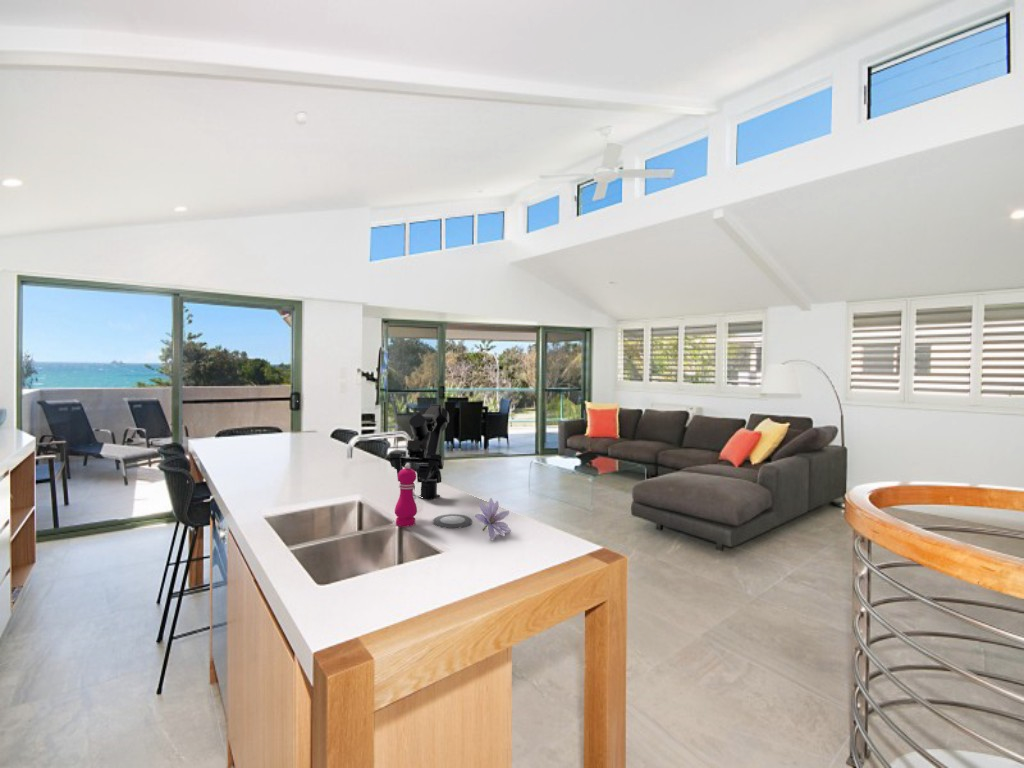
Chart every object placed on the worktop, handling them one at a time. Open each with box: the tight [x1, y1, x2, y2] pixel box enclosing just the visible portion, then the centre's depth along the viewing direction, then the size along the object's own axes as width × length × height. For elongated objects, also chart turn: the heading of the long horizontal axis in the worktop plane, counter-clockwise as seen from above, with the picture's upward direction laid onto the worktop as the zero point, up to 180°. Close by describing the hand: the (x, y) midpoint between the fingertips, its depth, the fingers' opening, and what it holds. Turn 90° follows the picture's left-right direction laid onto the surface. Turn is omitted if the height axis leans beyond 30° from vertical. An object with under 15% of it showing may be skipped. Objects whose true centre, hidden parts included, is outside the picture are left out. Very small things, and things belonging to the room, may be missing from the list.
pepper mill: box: [394, 463, 418, 528], centre depth 165 cm, size 7×7×20 cm
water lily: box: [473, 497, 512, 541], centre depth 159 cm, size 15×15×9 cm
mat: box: [432, 513, 473, 529], centre depth 169 cm, size 13×13×1 cm
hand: (411, 481), depth 171 cm, fingers open, 9 cm apart
